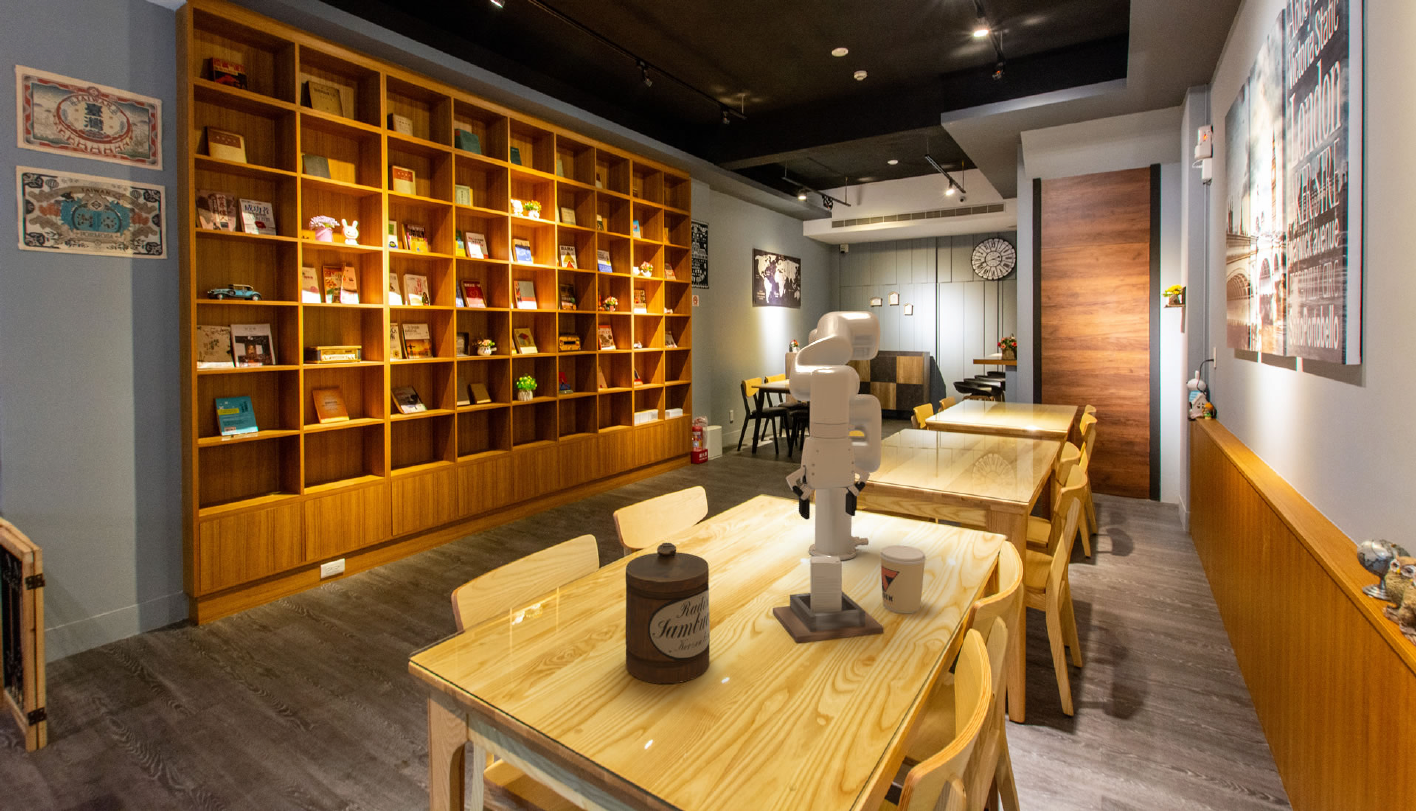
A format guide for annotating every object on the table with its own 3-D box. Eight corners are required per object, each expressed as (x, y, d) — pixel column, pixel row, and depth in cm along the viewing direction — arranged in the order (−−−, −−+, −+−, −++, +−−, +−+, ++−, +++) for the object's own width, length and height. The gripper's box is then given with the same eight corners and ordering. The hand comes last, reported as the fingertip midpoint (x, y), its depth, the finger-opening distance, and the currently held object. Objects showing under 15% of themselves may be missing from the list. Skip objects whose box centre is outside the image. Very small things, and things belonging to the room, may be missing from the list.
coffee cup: (872, 598, 149) (874, 545, 148) (914, 596, 150) (915, 544, 148) (887, 615, 140) (889, 559, 138) (931, 614, 140) (933, 558, 139)
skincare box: (839, 612, 138) (840, 556, 137) (841, 621, 134) (842, 563, 133) (809, 611, 139) (810, 555, 137) (810, 620, 135) (811, 562, 133)
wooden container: (668, 694, 110) (666, 563, 107) (608, 665, 119) (606, 544, 117) (726, 661, 121) (726, 542, 118) (668, 637, 130) (667, 526, 128)
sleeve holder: (852, 604, 145) (852, 586, 145) (883, 632, 132) (883, 612, 131) (772, 613, 141) (772, 593, 141) (796, 642, 128) (796, 621, 127)
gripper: (861, 426, 138) (859, 508, 140) (780, 430, 134) (780, 514, 136) (878, 432, 131) (876, 518, 133) (794, 435, 127) (793, 524, 129)
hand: (827, 515), depth 134 cm, fingers open, 9 cm apart
